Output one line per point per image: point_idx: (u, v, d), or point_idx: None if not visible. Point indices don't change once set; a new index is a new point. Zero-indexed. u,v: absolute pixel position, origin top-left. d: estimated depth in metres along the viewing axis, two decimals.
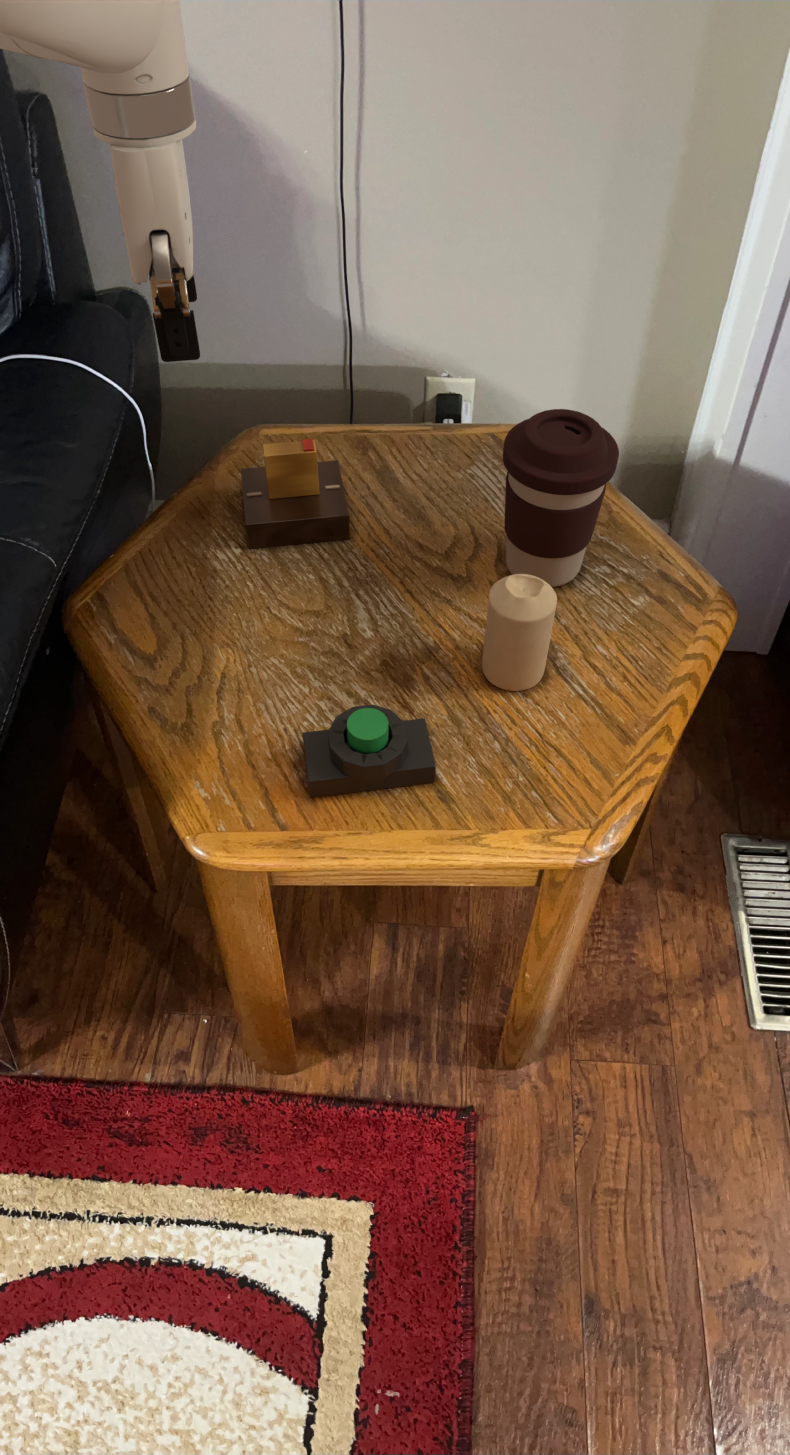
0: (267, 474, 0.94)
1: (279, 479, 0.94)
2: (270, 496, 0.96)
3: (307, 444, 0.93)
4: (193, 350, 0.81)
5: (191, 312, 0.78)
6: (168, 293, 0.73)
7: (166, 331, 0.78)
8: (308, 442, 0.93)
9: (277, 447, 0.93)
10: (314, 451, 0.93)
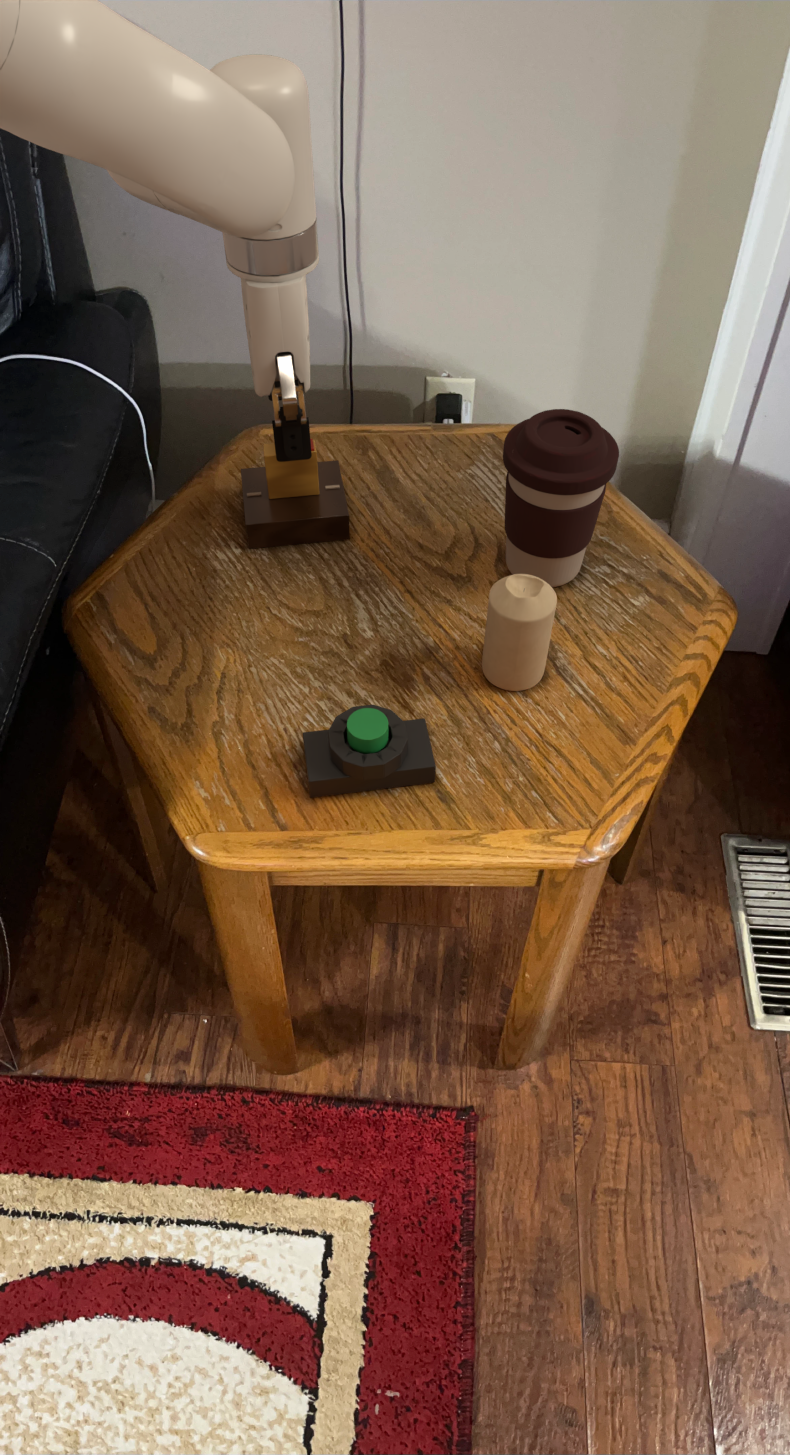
0: (267, 474, 0.94)
1: (279, 479, 0.94)
2: (270, 496, 0.96)
3: None
4: (306, 451, 0.88)
5: (306, 419, 0.85)
6: (292, 409, 0.81)
7: (284, 437, 0.86)
8: None
9: None
10: (314, 451, 0.93)
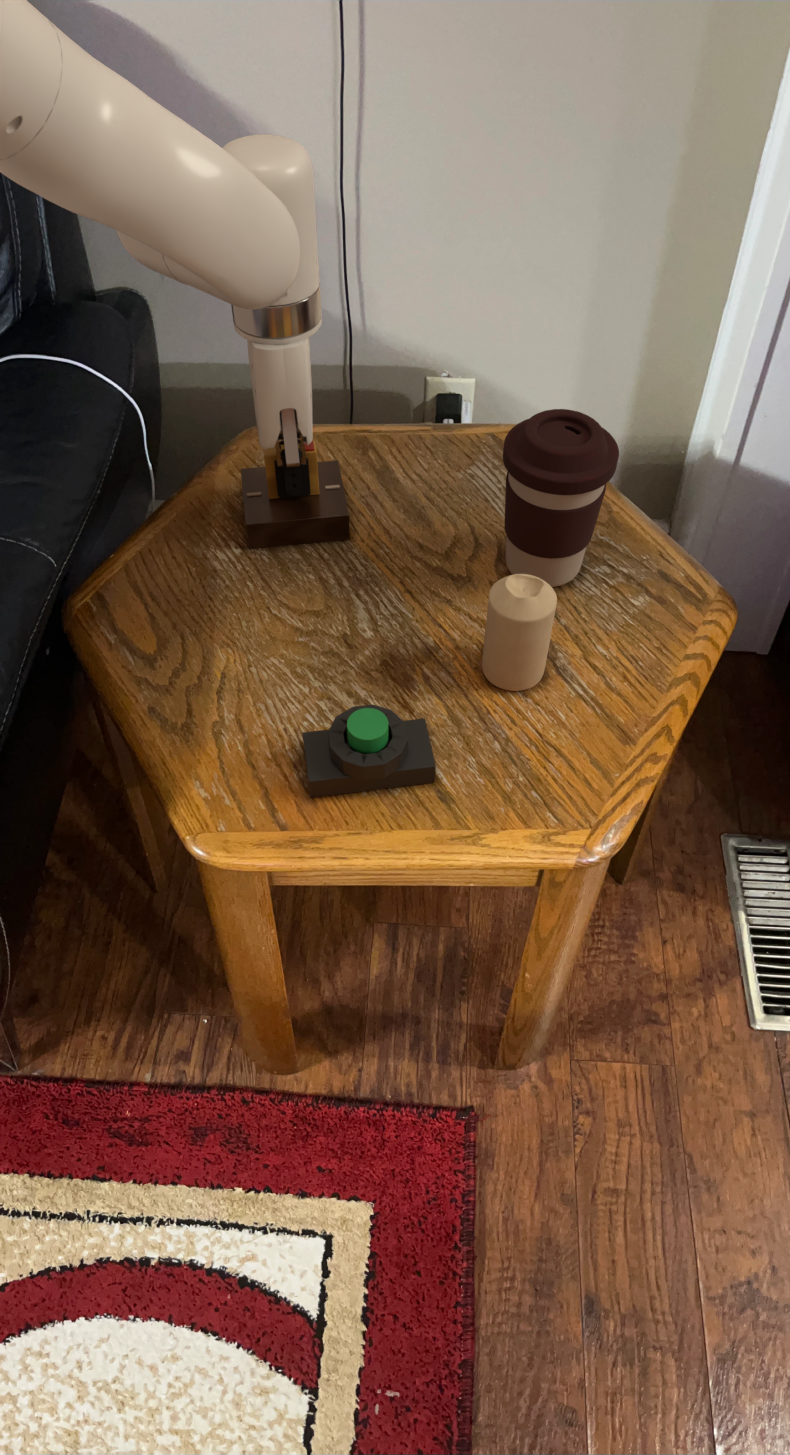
0: (267, 474, 0.94)
1: None
2: (270, 496, 0.96)
3: None
4: (305, 488, 0.95)
5: (306, 459, 0.93)
6: None
7: (285, 476, 0.93)
8: None
9: None
10: (314, 451, 0.93)
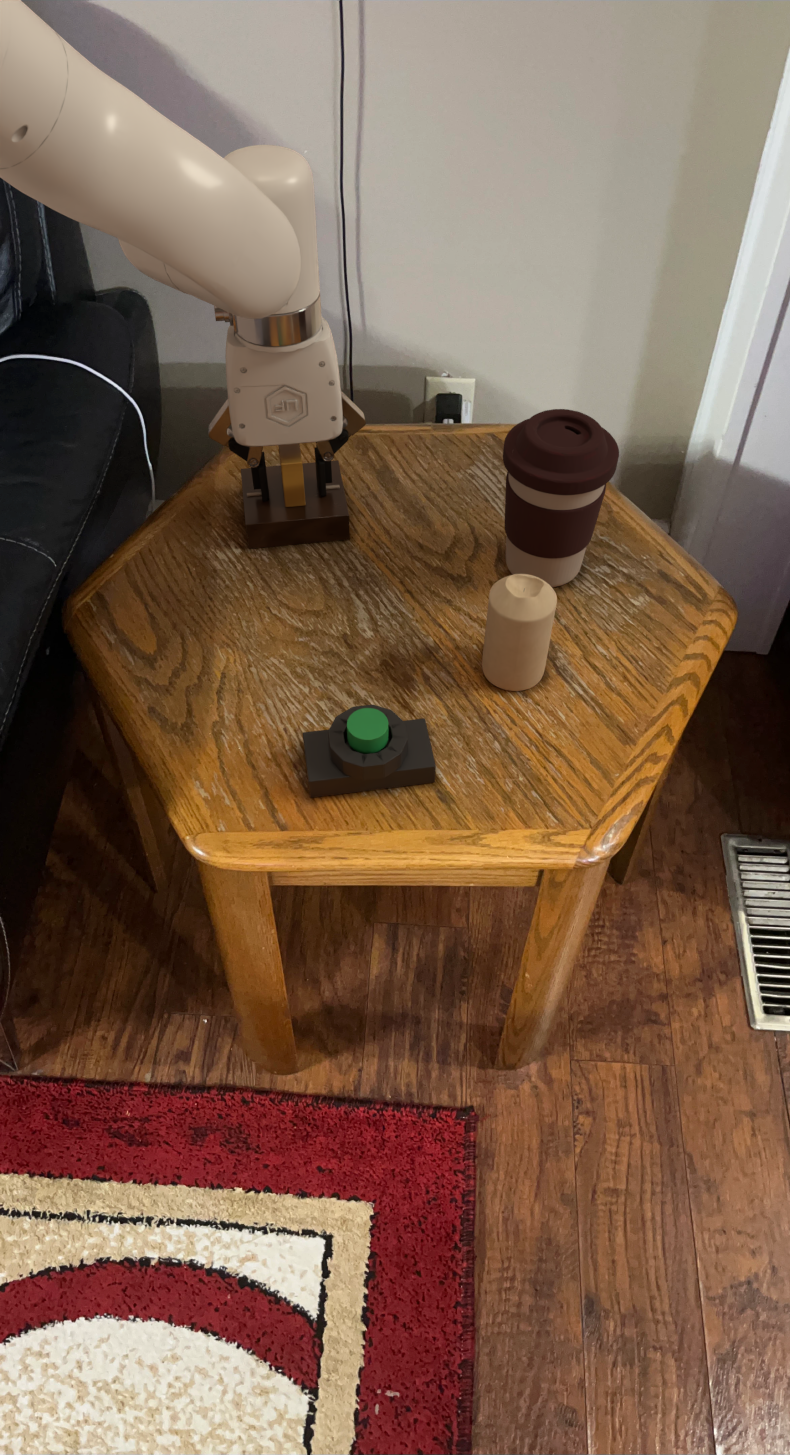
0: (303, 480, 0.93)
1: None
2: None
3: None
4: None
5: None
6: None
7: None
8: None
9: (288, 455, 0.92)
10: None
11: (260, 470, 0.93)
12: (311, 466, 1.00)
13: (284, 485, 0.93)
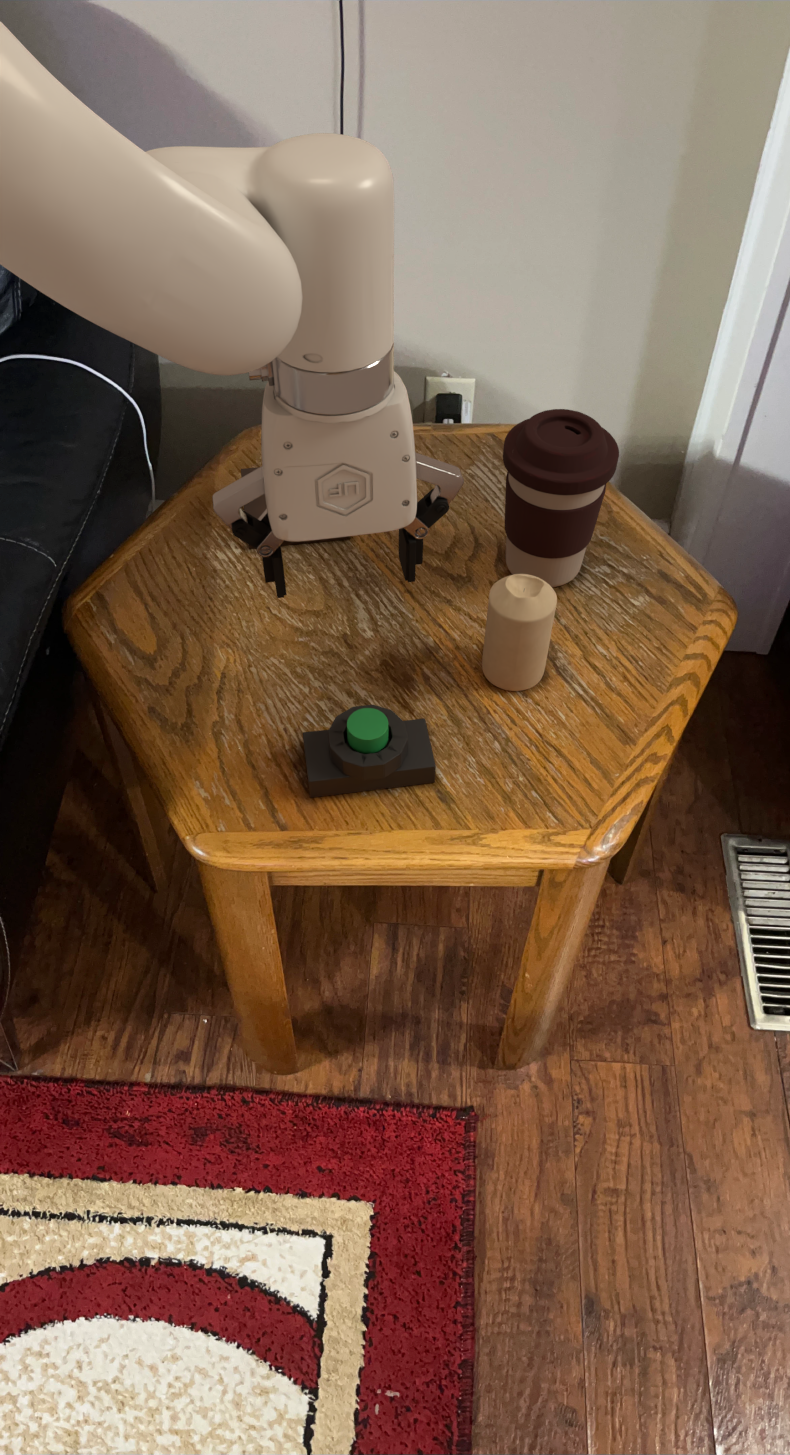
0: None
1: None
2: None
3: None
4: None
5: None
6: None
7: None
8: None
9: None
10: None
11: (275, 560, 0.69)
12: None
13: None
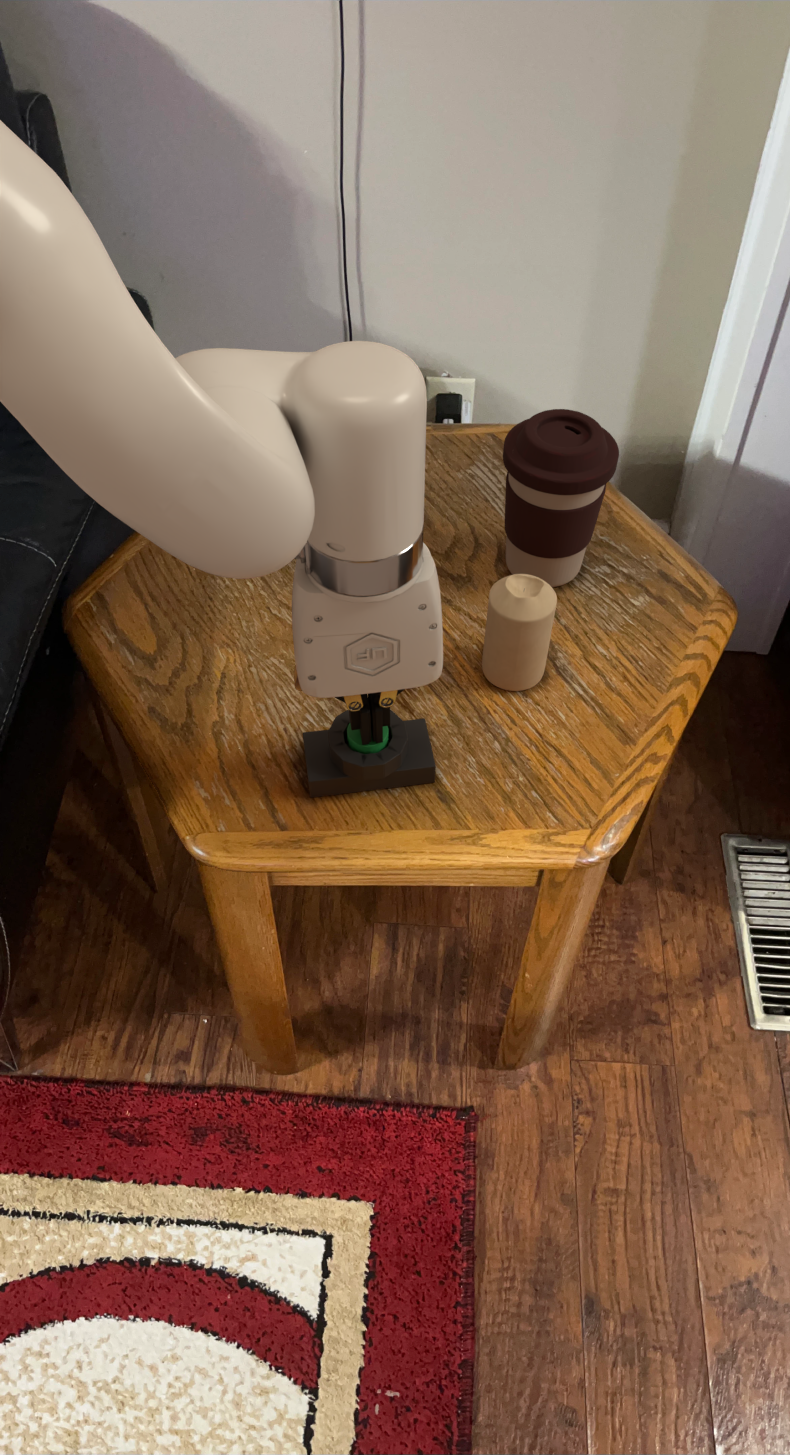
0: None
1: None
2: None
3: None
4: None
5: None
6: None
7: None
8: None
9: None
10: None
11: (363, 714, 0.72)
12: None
13: None
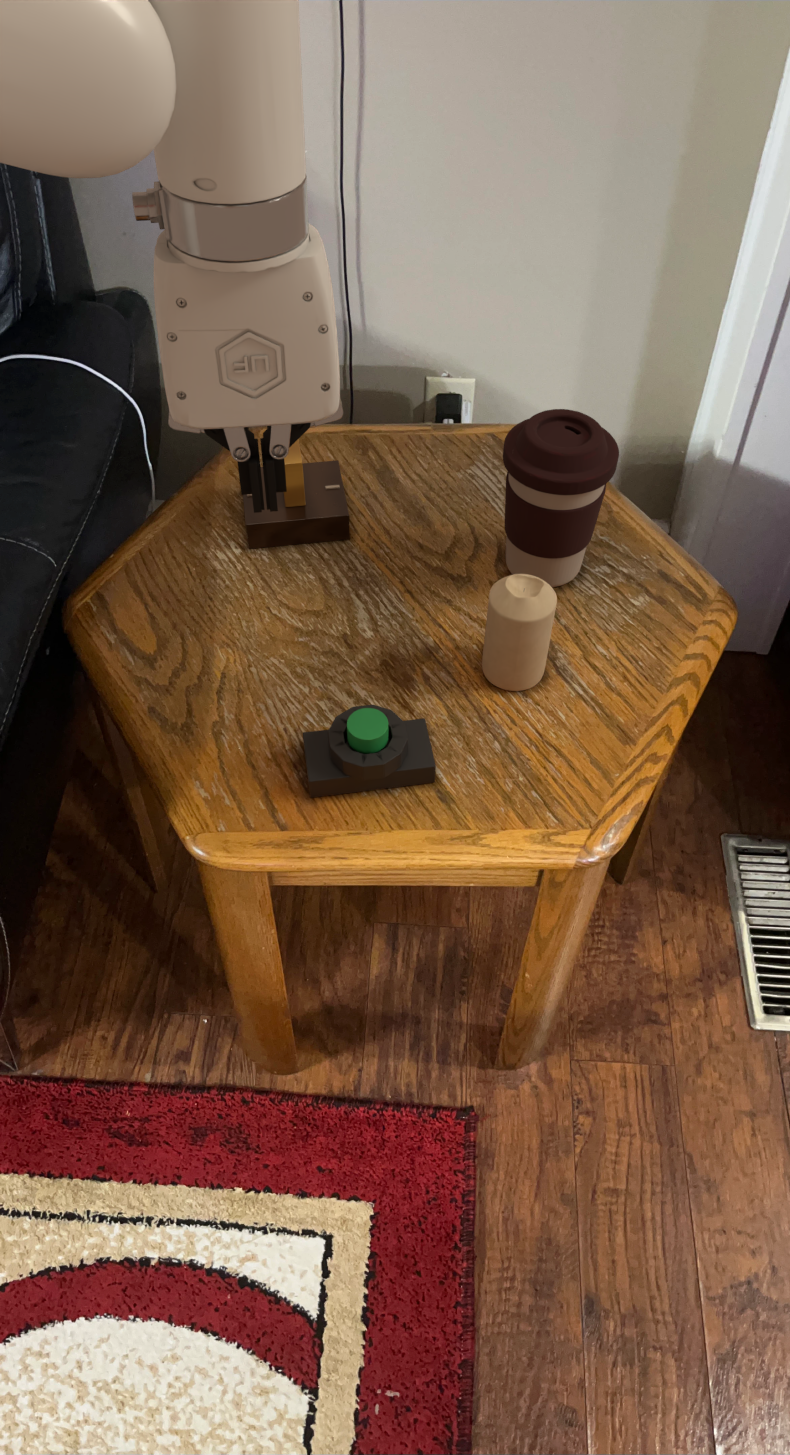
0: (303, 480, 0.93)
1: None
2: None
3: None
4: None
5: None
6: None
7: None
8: None
9: (288, 455, 0.92)
10: None
11: (251, 466, 0.61)
12: (311, 466, 1.00)
13: None
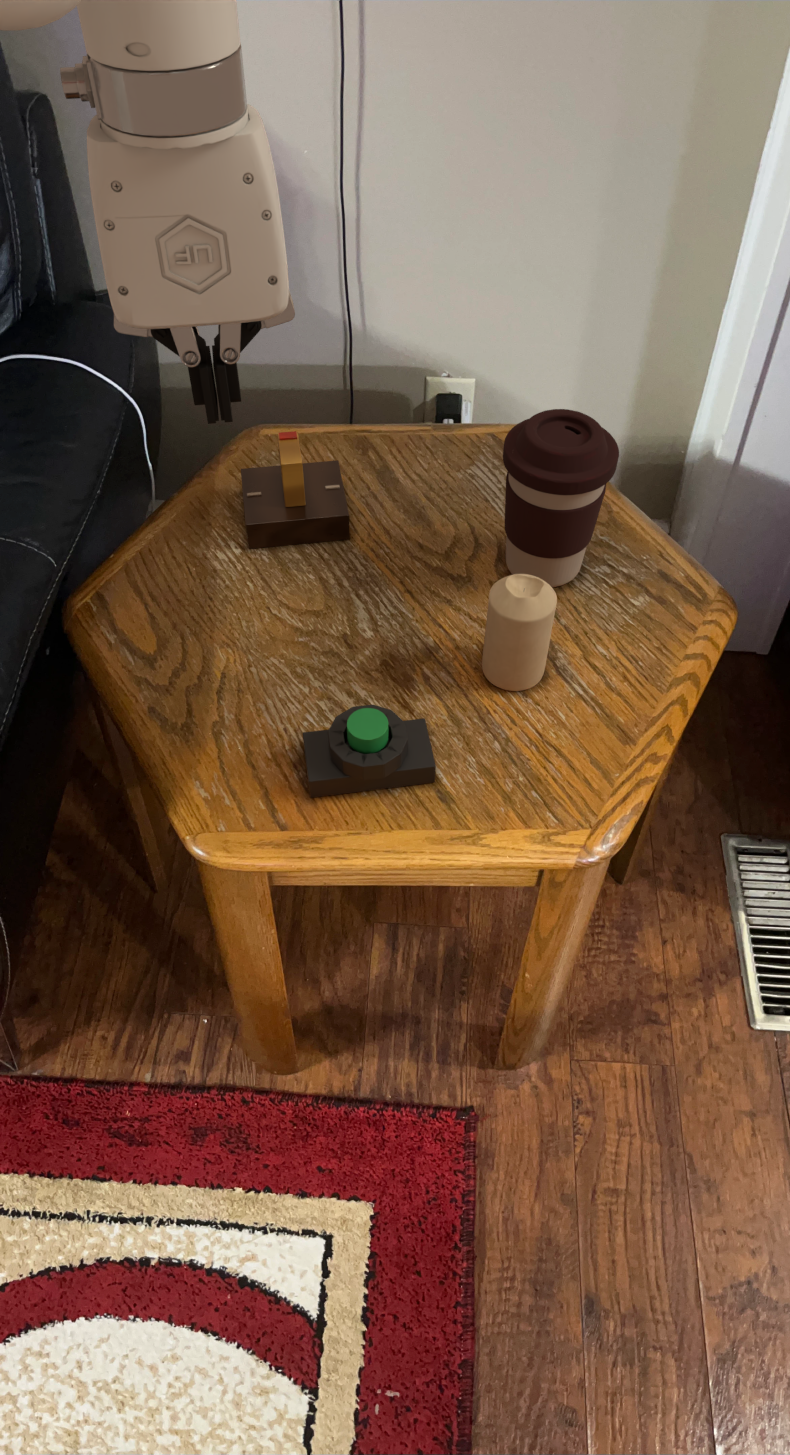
0: (303, 480, 0.93)
1: None
2: None
3: (288, 435, 0.94)
4: None
5: None
6: None
7: (237, 372, 0.61)
8: (285, 434, 0.94)
9: (288, 455, 0.92)
10: (297, 433, 0.95)
11: (202, 371, 0.59)
12: (311, 466, 1.00)
13: (284, 485, 0.93)
